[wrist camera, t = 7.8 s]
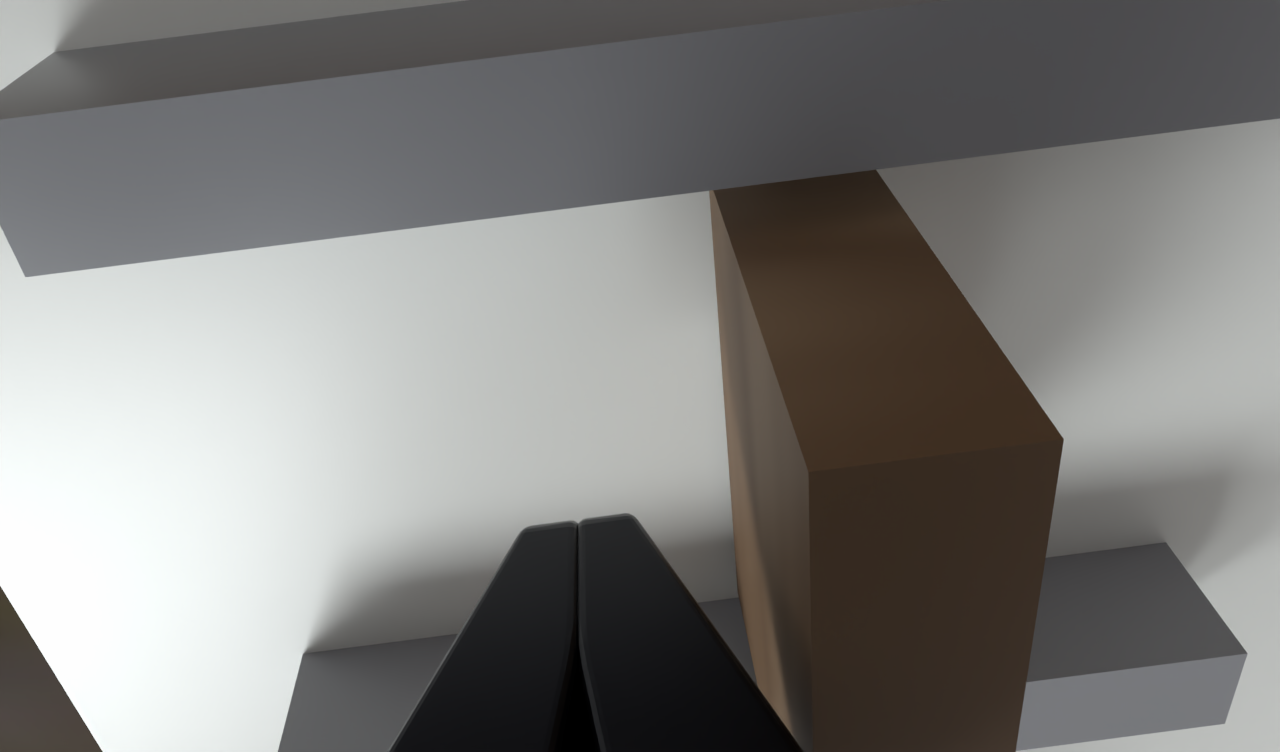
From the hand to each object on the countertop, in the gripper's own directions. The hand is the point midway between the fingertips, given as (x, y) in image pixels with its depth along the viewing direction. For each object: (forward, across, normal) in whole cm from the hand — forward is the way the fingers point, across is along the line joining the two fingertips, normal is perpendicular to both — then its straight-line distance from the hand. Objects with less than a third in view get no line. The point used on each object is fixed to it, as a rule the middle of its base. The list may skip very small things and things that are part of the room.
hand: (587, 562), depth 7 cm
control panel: (+4, -1, +9) cm, 10 cm away
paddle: (+2, -2, 0) cm, 3 cm away
